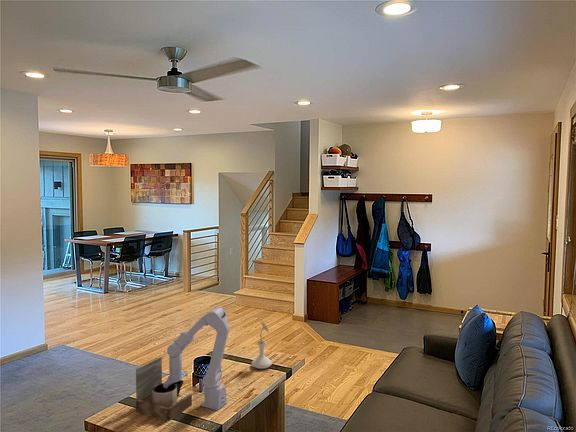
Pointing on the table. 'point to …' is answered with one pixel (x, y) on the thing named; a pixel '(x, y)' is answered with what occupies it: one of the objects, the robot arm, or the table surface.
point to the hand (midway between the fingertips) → (175, 396)
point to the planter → (164, 395)
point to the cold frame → (144, 384)
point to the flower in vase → (261, 354)
